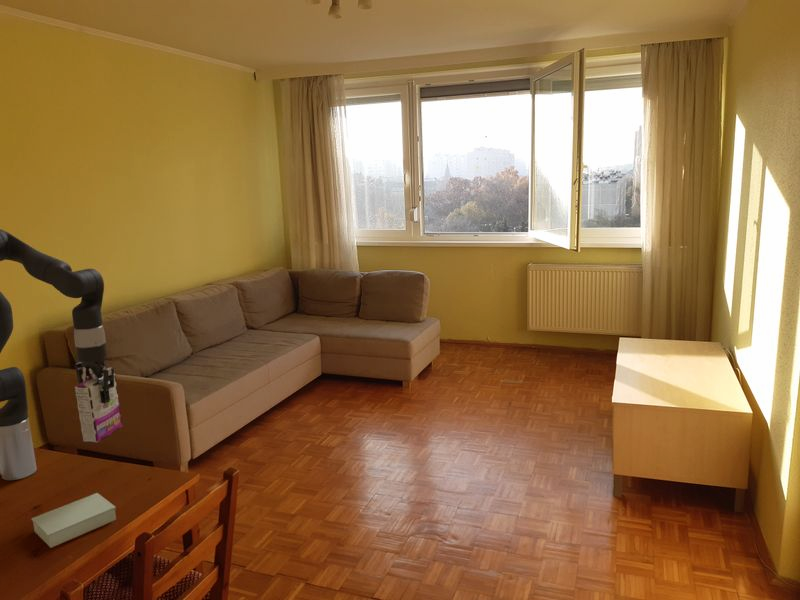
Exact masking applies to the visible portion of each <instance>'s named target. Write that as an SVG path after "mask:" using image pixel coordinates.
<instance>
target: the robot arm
mask: <svg viewBox="0 0 800 600" xmlns="http://www.w3.org/2000/svg"><path fill="white" fill-rule="evenodd" d="M6 260H7V261H11V262H16V263H19V264H21V265H22V266H23V268H24V269H25V271H26V272H27V273H28V275H30V276H31V277H33V278H34V279H36V280H39V281H42V282H44V283H46V284H48V285H51V286H53V287H54V288H55V289H56V290H57V291H59V293H61V294H62V295H63V296H65V297H68V298H69V299H70V298H71V299H79V298H80V299H81V300H80V302H79V304H77V305H76V306H74V307H73V309H72V310H71V317H72V323H73V329H74V330H73V338H74V344H75V345H74V346H75V352H76V354H75V355H76V359H77V360H76V361H77V362H76V363H74V370H75V373H76V378H77V382H78V384H80V383H82V382H84V381H86V380H88V379H90V378H93V379H94V381H95V383H98V385H99V389H100V397H101V403H103V404H105V403H107V402H109V401H110V395H109V388H113V387H114V374H115V369H114V367H112V366H111V367H108V366H107V365H106V361H105V360H106V359H107V357H108V348H107V347H108V346H107V340H106V332H105V330H104V329H105V328H104V325H103V318H102V317H103V316H102V306H103V301H104V300H103V298H104V292H105V281H104V279H103V276H102V275H101V273H100V272H99V271H98V270H96V269H95V268H85V269H80V270H75V271H73V269H72V267H71V265H70V264H69V263H67V262H65V261H63V260H61V259H59V258H56V257H54V256H50V255H48V254H45V253H43V252H42V251H39V250H37V249H36V248H34V247H32V246H31V245H29V244H27V243H26V242H24V241H22V240H21V239H19V238H17V237H16V236H15V235H13V234H11V233H10V232H8V231H6V230H4V229H1V228H0V262H3V261H6ZM13 330H14V319H13V310H12V305H11V303H10V301H9V300H8V299H7V298H6V296H5V295H4V294H3V293H2V292H1V291H0V354H1V352H2V351H3V349H4V347H5V346H6V344H7V343H8V341H9V339H10V338H11V335H12V334H13ZM102 377H103V379H99V378H102ZM108 381H110V384H109V382H108ZM101 382H103V385H102V383H101ZM5 401H6V403H5V404H4V405H3V406H2V407H0V475H1V479H2V480H4V481H15V480H21V479H25V478H27V477H29V476H31V475H34V473H36V471H37V463H36V455H35V450H34V444H33V437H32V432H31V424H30V418H29V405H28V396H27V384H26V379H25V376H24V373H23V372H22V370H21V369H20V368H19V367H17V366H12V367H11V366H10V367H6V368H3V369H0V403H2V402H5Z"/></svg>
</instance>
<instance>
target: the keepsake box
mask: <svg viewBox="0 0 800 600" xmlns="http://www.w3.org/2000/svg"><path fill="white" fill-rule="evenodd" d="M116 507H117V506H115V505H114V504H113V503H111V502H110V501H109V500H108V499H106V498H105V497H103V496H102V495H101V494H99V493H98V492H96V493H93V494H90V495H88V496H85V497H83V498H80V499H78V500H75V501H73V502H70V503H68V504H65V505H63V506H60V507H57V508H55V509H52V510H50V511H46V512H44V513H42V514H39V515H37V516H33V517H32V518H31V521H32V524H33V529H34V530H33V531H34V533H35V534H36V535H38V537H39V538H40V539H41V540H42V541H43V542H44V543H46V544H47V546H48V547H49V548H55V547H56V546H58V545H61V544H62V543H66V542H67V541H70V540H72V539H75V538H77V537H80V536H82V535H84V534H87V533H88V532H91V531H93V530H95V529H98V528H100V527H103V526H105V525H107V524H110V523H112V522H114V521H117V514H116V510H117V508H116Z"/></svg>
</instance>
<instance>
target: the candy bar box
mask: <svg viewBox="0 0 800 600" xmlns="http://www.w3.org/2000/svg"><path fill="white" fill-rule="evenodd" d="M99 379H103V377H102V378H99ZM116 379H117V378H116V373H114V387H113V388H109V395H110V401H109V402H107V403H105V404H103V403H101V397H100V389H99V385H98V383H95V381H94V379H93V378H90V379H88V380H86V381H84V382H82V383H80V384H79V383H78V384H76V385H75V386H74V393H75V399H76V405H77V410H78V411H77V412H78V417H79V422H80V429H81V435H82V441H83V442H84V443H100V442H101V441H103V440H104V439H106V438H107V437H109V436H111V435H112V434H113V433H115V432H116V431H118V430H119V429H121V428H122V427H124V426H123V420H122V413H121V406H120V401H119V393H118V386H117V385H118V384H117V380H116ZM108 382H109V384H110V381H108ZM101 383H102V385H103V382H101Z"/></svg>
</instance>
